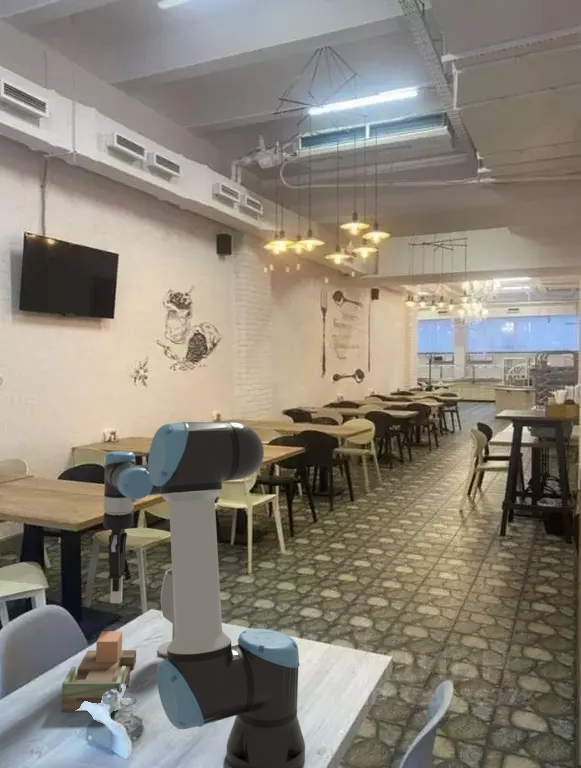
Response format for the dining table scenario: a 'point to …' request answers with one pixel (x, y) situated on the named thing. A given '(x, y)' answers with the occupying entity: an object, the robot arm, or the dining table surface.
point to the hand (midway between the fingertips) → (116, 601)
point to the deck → (95, 679)
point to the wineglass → (167, 607)
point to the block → (109, 646)
